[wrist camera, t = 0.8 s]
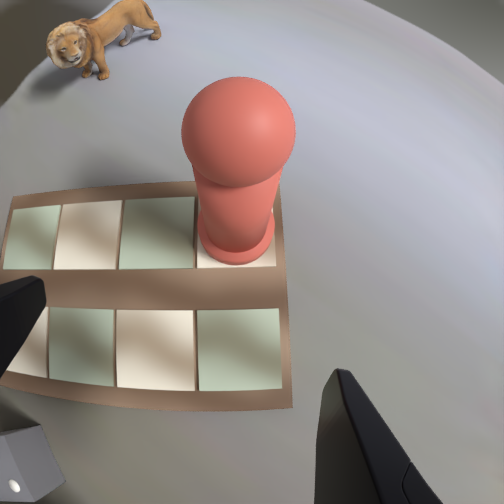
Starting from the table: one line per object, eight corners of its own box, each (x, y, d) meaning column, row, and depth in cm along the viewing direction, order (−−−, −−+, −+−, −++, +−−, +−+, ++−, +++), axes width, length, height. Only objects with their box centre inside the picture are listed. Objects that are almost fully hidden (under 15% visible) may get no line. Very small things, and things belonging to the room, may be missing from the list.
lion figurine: (90, 107, 27) (59, 42, 18) (59, 97, 27) (28, 39, 19) (173, 28, 31) (165, -32, 22) (140, 23, 31) (129, -33, 23)
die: (66, 481, 17) (34, 502, 12) (25, 484, 16) (-8, 500, 11) (40, 424, 18) (3, 435, 13) (2, 431, 17) (-35, 440, 12)
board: (289, 404, 20) (293, 408, 19) (3, 383, 19) (-7, 383, 17) (277, 187, 25) (279, 178, 23) (19, 202, 23) (12, 195, 22)
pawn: (274, 264, 21) (325, 153, 9) (198, 266, 21) (156, 154, 9) (270, 196, 23) (303, 53, 11) (199, 197, 23) (174, 52, 10)
